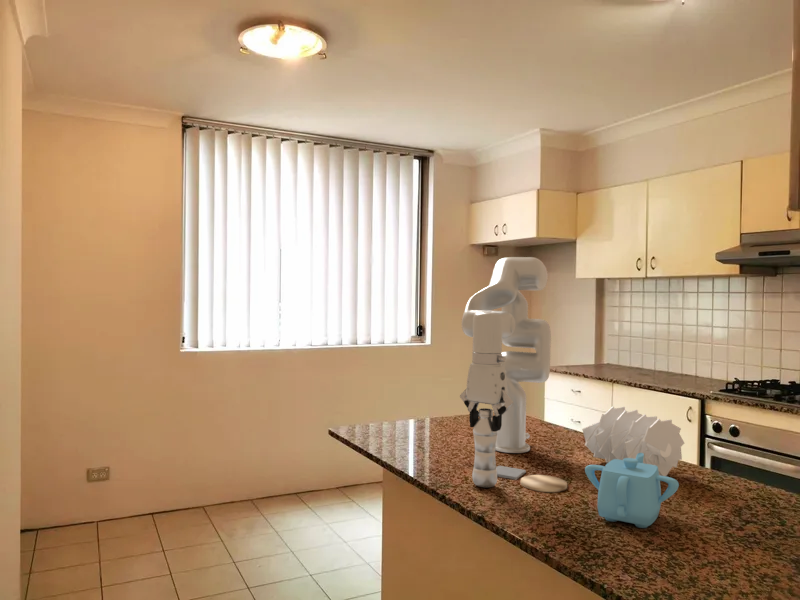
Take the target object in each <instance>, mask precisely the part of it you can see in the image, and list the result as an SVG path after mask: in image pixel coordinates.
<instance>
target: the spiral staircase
mask: <svg viewBox="0 0 800 600" xmlns="http://www.w3.org/2000/svg"><path fill="white" fill-rule="evenodd" d="M672 421H673V420H672V419H664V420H661V419H660V418H658V416H656V415H655V416H647V414H646V413H643V414H642V413H639V410H638V409H634V410H630V411H627V410H626V407H625V406H620V407H616V408H615V406H611V407H610V408H609V409H608V410H606V411H605V413H602V414H601V416H600V419H599V421H597V422H595V423H592V424H591V425H588V426H586V427H583V428H582V433H583V434H582V435H583V437H584V441H585V443H584V446H585V447H587V449H588V450H589V451H590V452H591V453H592V454H593V458H596V459H603V460H605V462H606V463H609V462H610V461H611V460H613V459H619V460H623V459H624V458H633V459H636V456H637V454H638V453H643V454H644V458H643V463H644V464H650V465H656V466H657V467H658V471H659V475H660V476H666V477H668V474H669V473H670V471H671V470H672V468H678V463H679V462H678V461H681V460H683V459H682V458H683V455H682V447H683V446H684V444H685V441H684V440H683V438H682V435H681V434H680V432H681V430H682V428H681V427H680V426H677V425H675V424H673V422H672Z"/></svg>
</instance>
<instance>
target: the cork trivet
mask: <svg viewBox="0 0 800 600" xmlns="http://www.w3.org/2000/svg"><path fill="white" fill-rule="evenodd" d="M520 485H521V486H522V487H524V488H525V489H528V490H531V491H535V492H541V493H542V492H543V493H559V492H560V493H561V492H564V491H566V490H567V489H568V482H567V481H566V480H565V479H562V478H559V477H556V476H551V475H543V474H528V475H525V476H523V477H522V476H521V477H520Z"/></svg>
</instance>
